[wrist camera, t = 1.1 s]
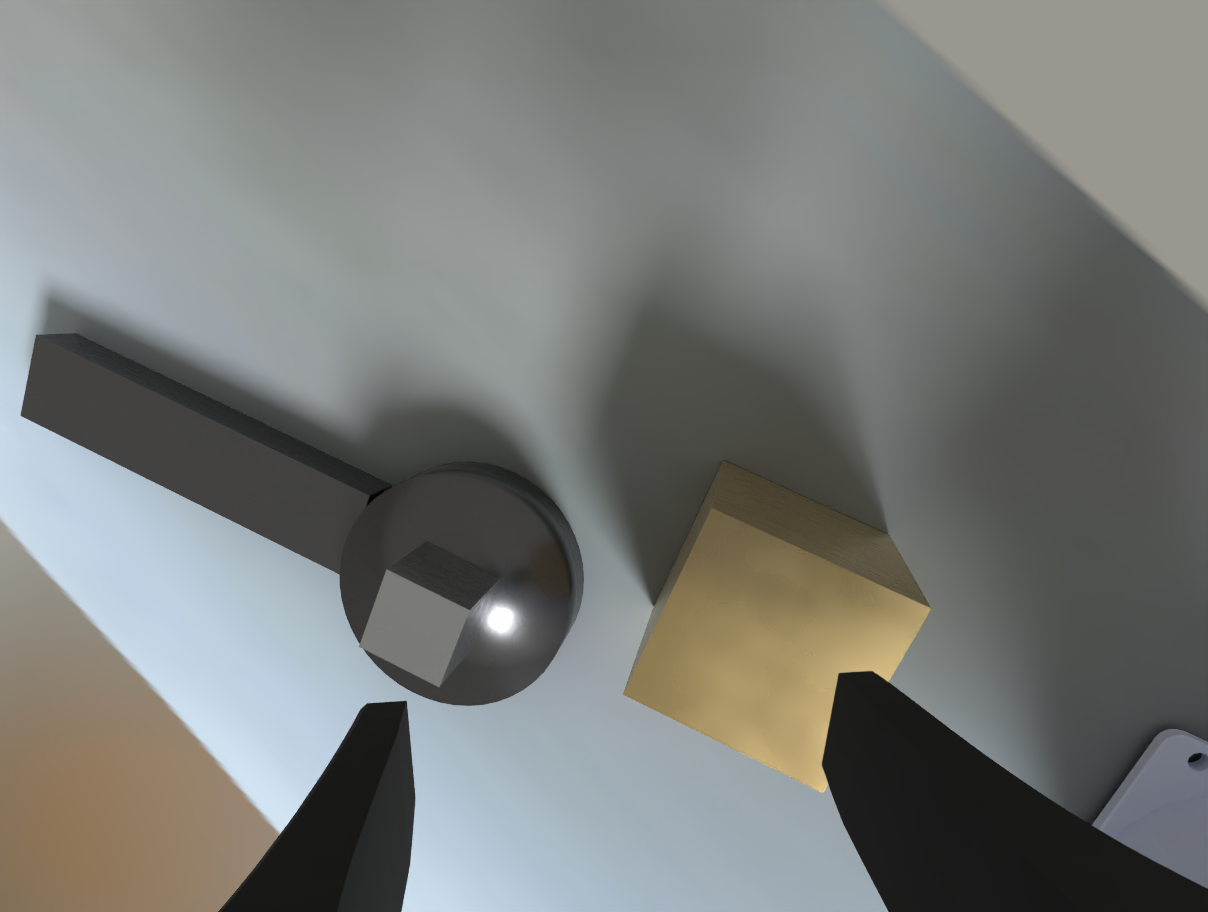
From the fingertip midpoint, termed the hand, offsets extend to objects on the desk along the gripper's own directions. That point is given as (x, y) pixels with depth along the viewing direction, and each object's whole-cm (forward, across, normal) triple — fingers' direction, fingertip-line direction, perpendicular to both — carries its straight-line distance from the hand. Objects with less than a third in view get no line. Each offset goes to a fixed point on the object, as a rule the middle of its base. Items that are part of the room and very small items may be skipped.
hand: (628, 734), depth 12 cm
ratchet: (+13, +8, +2) cm, 16 cm away
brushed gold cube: (+8, -6, +2) cm, 10 cm away
